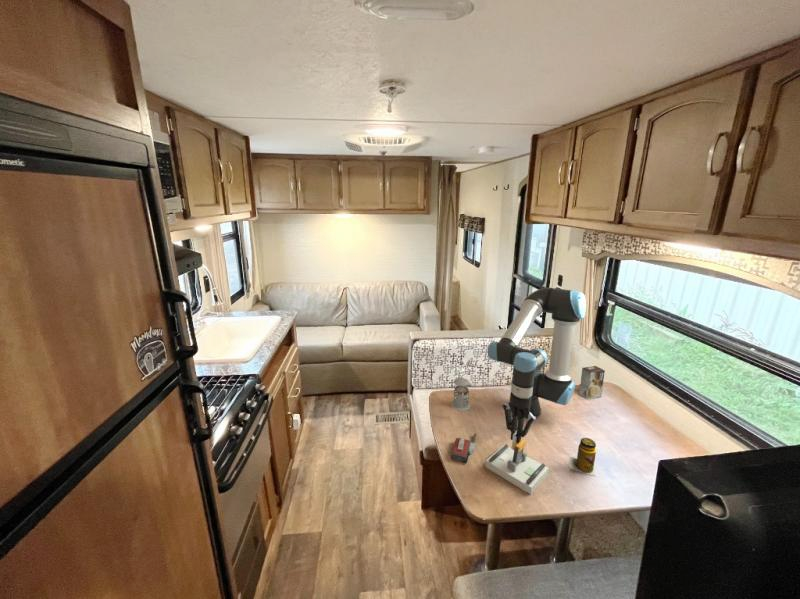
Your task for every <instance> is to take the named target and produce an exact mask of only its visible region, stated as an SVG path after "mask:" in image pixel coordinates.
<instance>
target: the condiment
mask: <svg viewBox="0 0 800 599" xmlns="http://www.w3.org/2000/svg"><path fill="white" fill-rule="evenodd" d="M596 446H597V443H596V442H595V441H594V440H593V439H591V438H588V437H582V438H581V439H580V442H579V445H578V448H577V456H576V458H575V457H573V456H570V462H569V469H571V470H574V471H578V472H580V473H583V474H586V475H590V476H593V477H595V461H596V460H595V459H596V453H597V449H596Z"/></svg>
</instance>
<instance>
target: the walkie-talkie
mask: <svg viewBox="0 0 800 599" xmlns="http://www.w3.org/2000/svg"><path fill="white" fill-rule="evenodd" d="M476 438H477V433H474V434H473V436H472V442H471V440H470V439H466V438H463V437H456V438H455V440H454V443H453V447H452V451H451V452H450V459H451V460H452V461H456V462H460V463H463V464H467V463H468V460H469V456H470V455H472V454H474V453H475V450H476Z"/></svg>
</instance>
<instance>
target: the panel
mask: <svg viewBox="0 0 800 599" xmlns="http://www.w3.org/2000/svg"><path fill="white" fill-rule="evenodd" d="M511 448H512V447H510V446H509V445H508V444H503V445H502V446H500V448H498V449H497V450H496V451H494V453H493V454H491V455H490V457H488V458H487V459H486V460H485V468H486V469H488V470H490V471H491V472H493V473H494V474H496V475H498V476H499V477H501V478H503V479H504V480H506V481H508V482H509V483H511V484H513V485H514V486H515V487H516V486H517V488H519V489H521V490H523V491H525V493H528V494H529V495H532V494H533V493H534V492H535V490H536V489H537V488H538V487H539V486H540V484H541V483H542V482H543V481H544V480H545V479H546V477H547V476H548V475H549V469H550V468H549V467H548V466H546V465H545V463H540V462H538V461H536V460H535V459H534V458H533V459H532V458H531V457H529V456H527V455H528V454H527V453H525V452H524V451H523V455H522V456H523V460H522V461H521V462H520V463H519V464H518V465H517V464H516V463H514V462H512V461H513V455H514V450H513V449H511ZM516 465H517V466H516Z"/></svg>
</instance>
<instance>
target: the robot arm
mask: <svg viewBox="0 0 800 599" xmlns="http://www.w3.org/2000/svg"><path fill="white" fill-rule="evenodd" d="M520 307H521V308H520V310H519V312H518V313H517V314H516V316H515V317H514V318H513V320H512V322H511V323H510V324H509V326H508V328H507V329H506V331H505V332H504V333H503V335H502V337H501V338H500V340H499V341H497V340H496V341H493V340H492V341H491V342H490V343H489V345H488V347H487V357H488V358H489V359H491V360H493V361H496V362H499V363H500V362H501V363H503V364H507V365H511V366H513V369H512V376H511V377H512V378H511V386H510V395H509V401H508V402H505V403H504V404H502V408H503V410H504V418H505V419H504V420H505V424H506V426H505V427H506V429H507V430H508V431H510V440H511V447H510V448H511V449H513V447H514V444H515V443H516V442H517V443H519V442H520V441H521V439H522V438H525V436H527V435H528V432H529V430H530V428H531V427H532V424H533V423H534V422H535V420H537V418H538V417H540V416H541V415H542V408H541V403H540V399H542V400H546V401H549V402H551V403H553V404H554V403H555V404H557V405H562V406H566V405H568V404H569V402H570V401H571V399H572V396H573V394H574V391H575V388H576V383H575V382H574V381H572V379H573V377H572V375H570V367H571V360H572V359H571V358H572V350H573V345H574V344H573V343H574V339H575V338H574V336H575V330H576V325H577V324H578V323H580V321H581V319H584V318H585V316H586V311H587V301H586V296H585V294H584V293H583V292H581V291H577V290H572V289H571V290H570V289H563V288H553V287H543V288H539V289H536V290H535V291H533V292H531V293H530V294H528V295H527V296H526V297H525V298H524V299H523V301H522V303H521V306H520ZM542 313H547V314H551V320H552V321H553V323H554V324H553V332H552V338H551V339H552V341H551V349H550V355H549V356H550V357H549V363H548V354H547V353H546V352H545V351H544V350H543V349H541V348H539V347H538V348H536V347H535V348H533V349H527V348H522V347H519V346H520V345H521V342H522V341H523V340H524V338H525V336H526V334H527V333H528V332H529V330H530V329H531V327H532V325H533V323H534V322H535V321H536V318H537V317H539V316H542ZM547 363H548V364H549V365H548V369H547V370H546V371H545V372H544V373H542V369H544V367H545V366H546V364H547ZM539 398H540V399H539ZM525 419H527V421H526V423H525ZM524 424H525V425H524ZM513 450H514V449H513Z"/></svg>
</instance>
